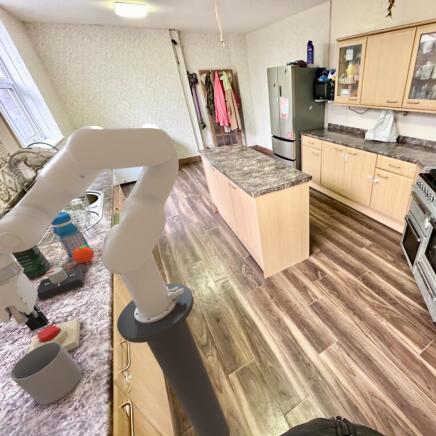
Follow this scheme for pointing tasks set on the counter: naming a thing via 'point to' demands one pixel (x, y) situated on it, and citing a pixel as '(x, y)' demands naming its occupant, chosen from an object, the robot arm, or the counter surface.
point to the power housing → (62, 336)
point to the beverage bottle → (68, 233)
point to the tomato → (83, 254)
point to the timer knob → (57, 275)
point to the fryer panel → (61, 284)
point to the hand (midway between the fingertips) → (40, 325)
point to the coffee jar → (32, 261)
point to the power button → (48, 333)
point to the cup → (46, 373)
